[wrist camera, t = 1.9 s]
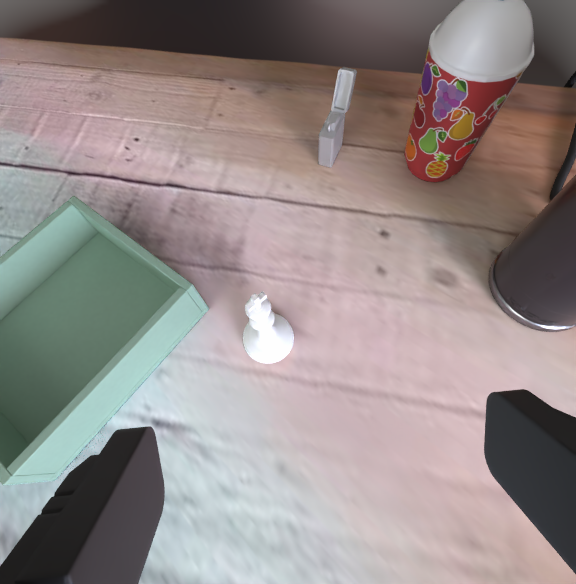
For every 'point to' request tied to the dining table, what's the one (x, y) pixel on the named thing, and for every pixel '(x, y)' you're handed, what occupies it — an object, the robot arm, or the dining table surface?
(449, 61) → the smoothie
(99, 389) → the open box
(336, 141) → the lighter
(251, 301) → the chess piece
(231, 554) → the dining table surface
